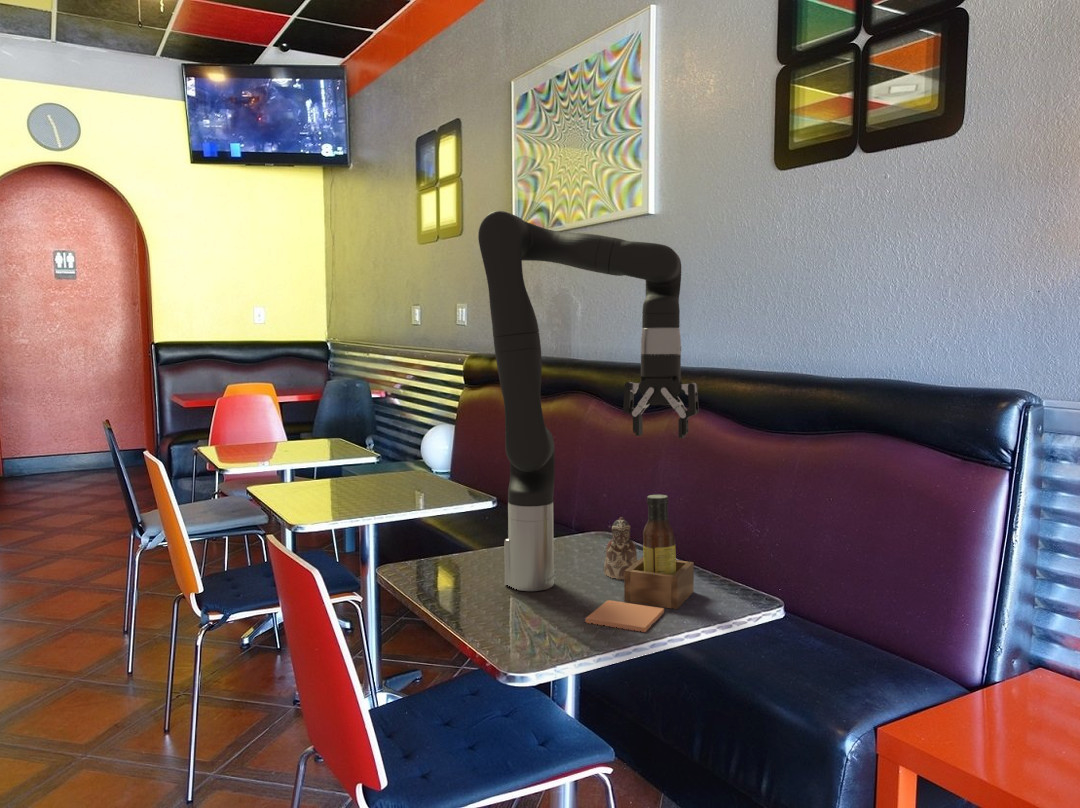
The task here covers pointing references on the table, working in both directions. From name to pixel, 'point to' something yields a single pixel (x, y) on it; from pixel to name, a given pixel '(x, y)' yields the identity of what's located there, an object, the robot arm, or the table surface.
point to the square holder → (658, 585)
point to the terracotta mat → (625, 615)
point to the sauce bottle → (659, 538)
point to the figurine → (619, 550)
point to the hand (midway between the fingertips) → (660, 436)
